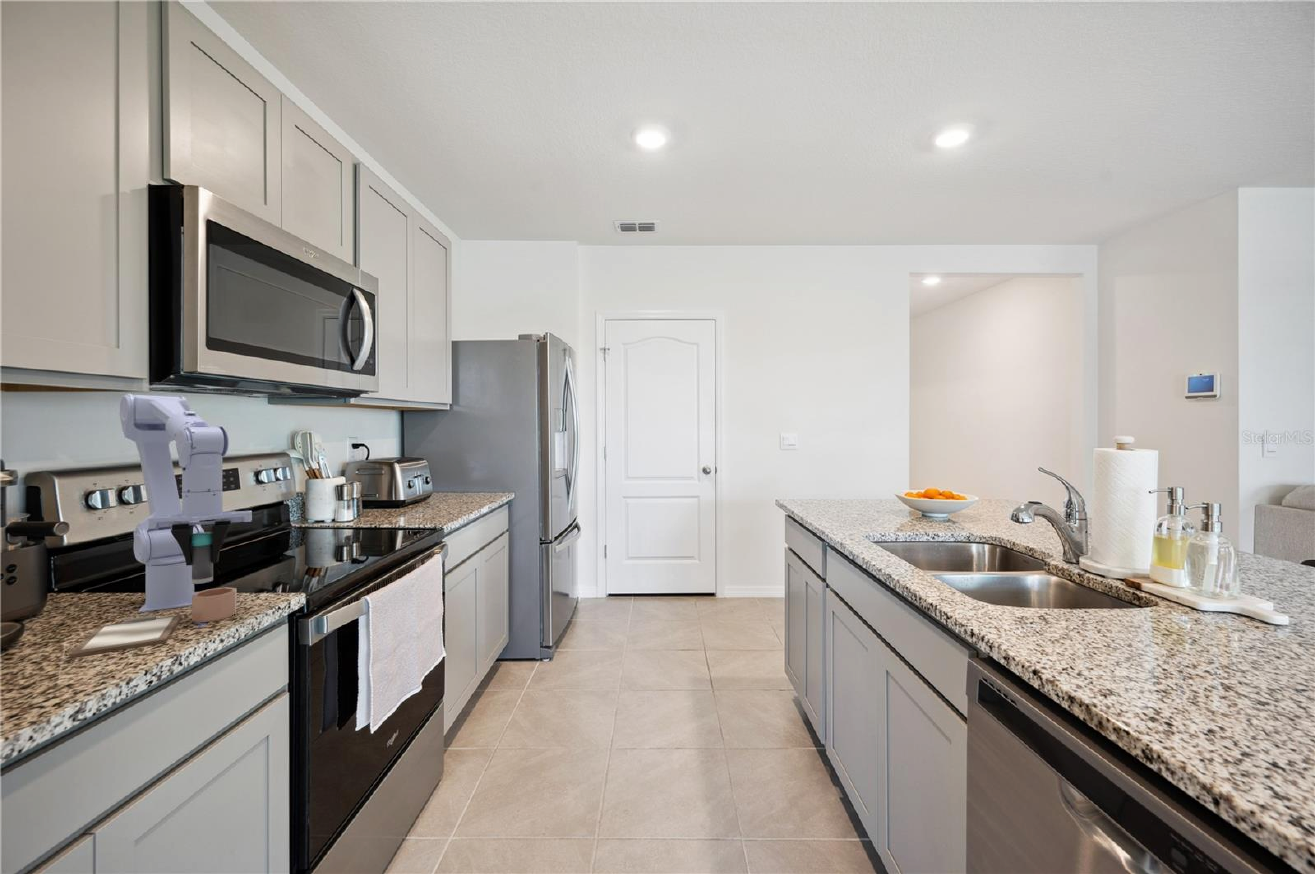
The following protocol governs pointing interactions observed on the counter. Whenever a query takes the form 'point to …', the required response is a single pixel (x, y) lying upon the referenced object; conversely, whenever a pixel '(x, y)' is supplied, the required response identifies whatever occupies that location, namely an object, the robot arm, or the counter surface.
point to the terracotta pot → (214, 604)
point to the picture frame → (127, 635)
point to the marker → (202, 557)
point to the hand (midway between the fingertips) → (202, 563)
